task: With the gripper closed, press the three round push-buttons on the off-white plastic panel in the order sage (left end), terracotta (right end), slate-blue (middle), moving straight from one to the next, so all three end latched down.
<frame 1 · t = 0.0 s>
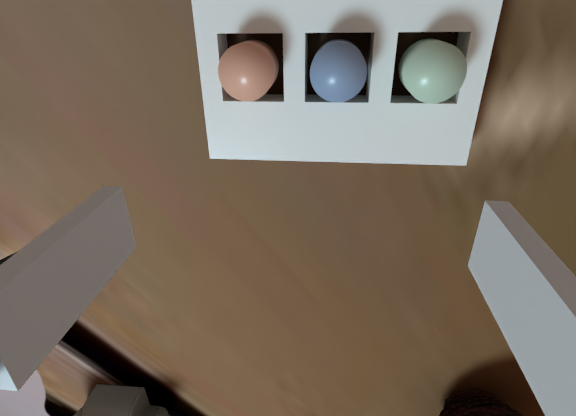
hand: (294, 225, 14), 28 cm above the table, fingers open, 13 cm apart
panel: (337, 63, 37), on the table
sage button: (430, 70, 33), point 4 cm above the table, slide at 0.0 cm
terracotta button: (249, 69, 34), point 4 cm above the table, slide at 0.0 cm
digital clock: (126, 399, 68), on the table
vase: (470, 404, 59), on the table
slate button: (337, 70, 34), point 4 cm above the table, slide at 0.0 cm
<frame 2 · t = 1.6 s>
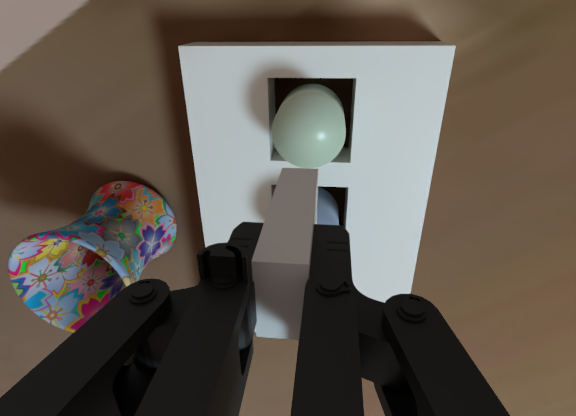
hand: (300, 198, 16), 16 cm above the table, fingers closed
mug: (127, 219, 37), on the table
panel: (310, 200, 34), on the table
sage button: (310, 124, 26), point 4 cm above the table, slide at 0.0 cm
slate button: (308, 224, 30), point 4 cm above the table, slide at 0.0 cm
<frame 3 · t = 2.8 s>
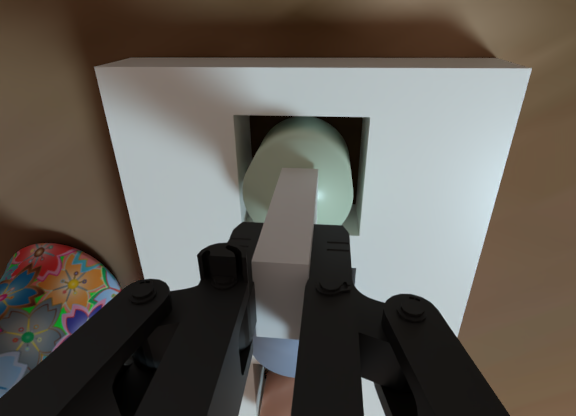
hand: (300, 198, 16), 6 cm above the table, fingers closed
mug: (61, 287, 28), on the table
panel: (303, 270, 25), on the table
sage button: (300, 176, 18), point 3 cm above the table, slide at 1.0 cm, touching gripper
terracotta button: (298, 407, 25), point 4 cm above the table, slide at 0.0 cm
slate button: (298, 316, 21), point 4 cm above the table, slide at 0.0 cm
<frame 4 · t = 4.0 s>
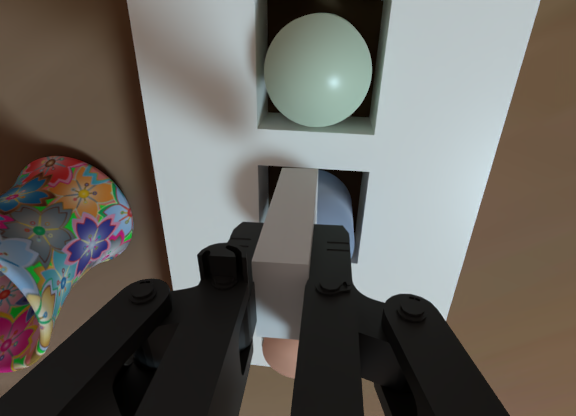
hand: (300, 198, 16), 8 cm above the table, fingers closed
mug: (69, 209, 28), on the table
panel: (313, 190, 25), on the table
sage button: (319, 67, 19), point 3 cm above the table, slide at 1.6 cm
terracotta button: (303, 327, 25), point 4 cm above the table, slide at 0.0 cm
slate button: (309, 223, 21), point 4 cm above the table, slide at 0.0 cm
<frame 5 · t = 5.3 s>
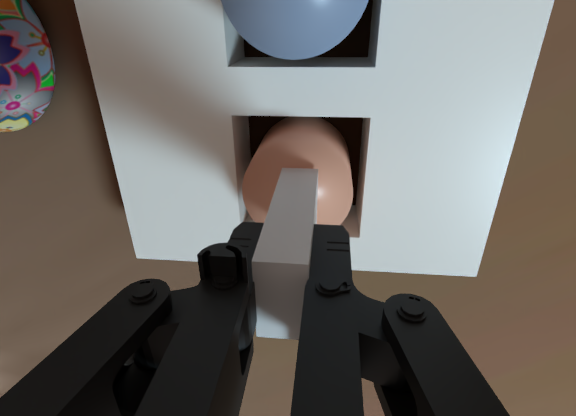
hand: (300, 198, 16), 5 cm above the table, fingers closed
terracotta button: (300, 175, 18), point 3 cm above the table, slide at 1.3 cm, touching gripper
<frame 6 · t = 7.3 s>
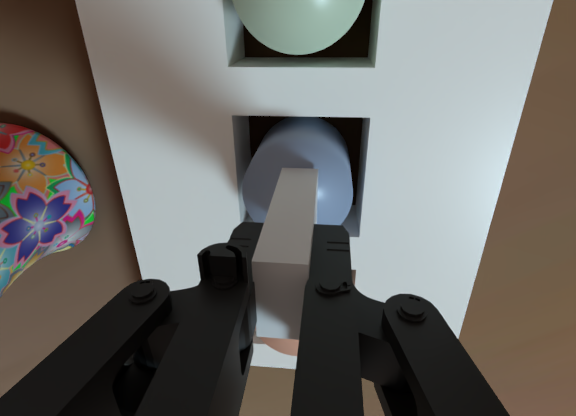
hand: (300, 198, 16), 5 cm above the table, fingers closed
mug: (23, 190, 24), on the table
panel: (304, 154, 21), on the table
terracotta button: (300, 298, 22), point 3 cm above the table, slide at 1.6 cm
slate button: (300, 176, 18), point 3 cm above the table, slide at 1.2 cm, touching gripper
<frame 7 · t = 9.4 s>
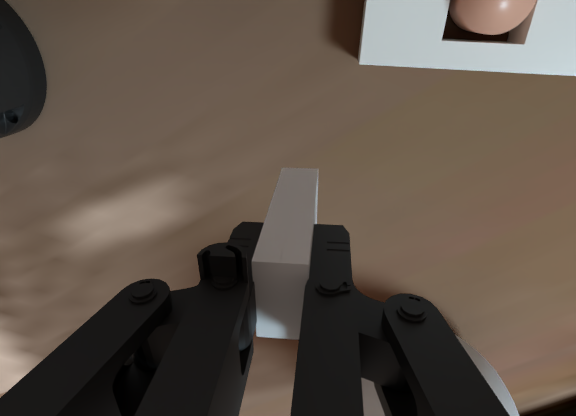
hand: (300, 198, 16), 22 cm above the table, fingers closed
pitcher: (398, 367, 50), on the table
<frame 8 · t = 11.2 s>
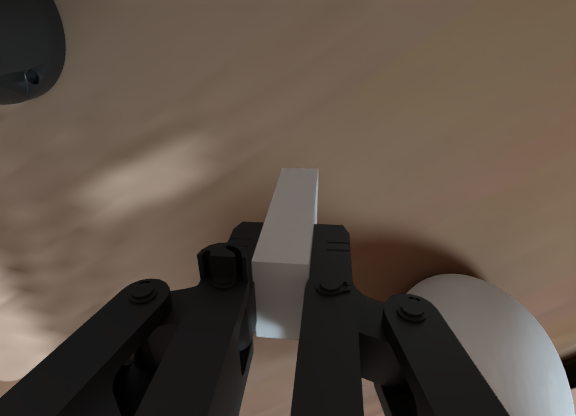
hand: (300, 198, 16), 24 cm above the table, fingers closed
pitcher: (426, 321, 50), on the table
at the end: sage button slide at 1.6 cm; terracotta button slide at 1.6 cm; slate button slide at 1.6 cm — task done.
